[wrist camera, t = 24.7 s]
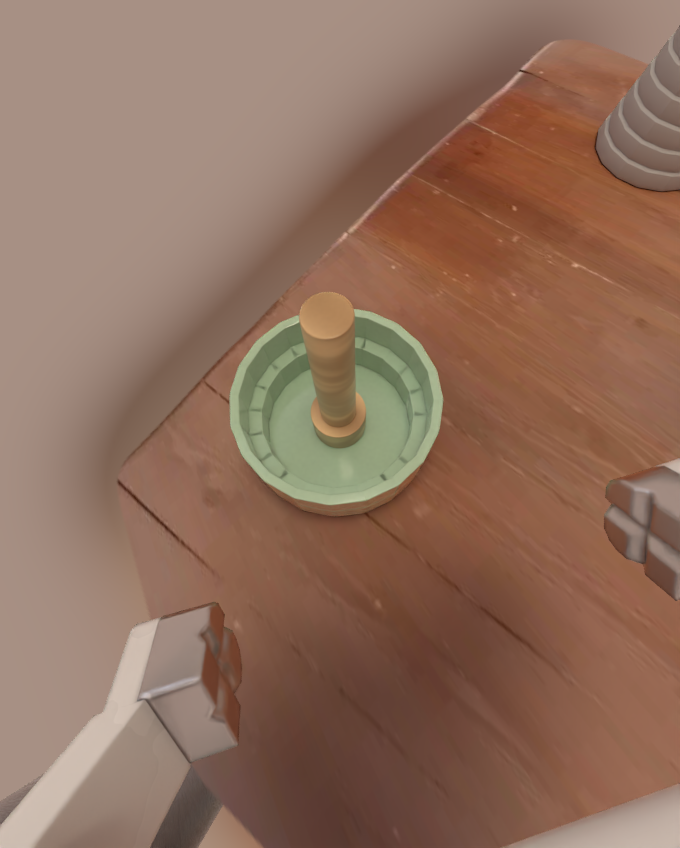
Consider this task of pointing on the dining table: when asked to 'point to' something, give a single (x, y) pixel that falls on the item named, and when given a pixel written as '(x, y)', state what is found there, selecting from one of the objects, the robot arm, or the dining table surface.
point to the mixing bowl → (294, 431)
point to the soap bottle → (647, 126)
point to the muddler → (333, 368)
